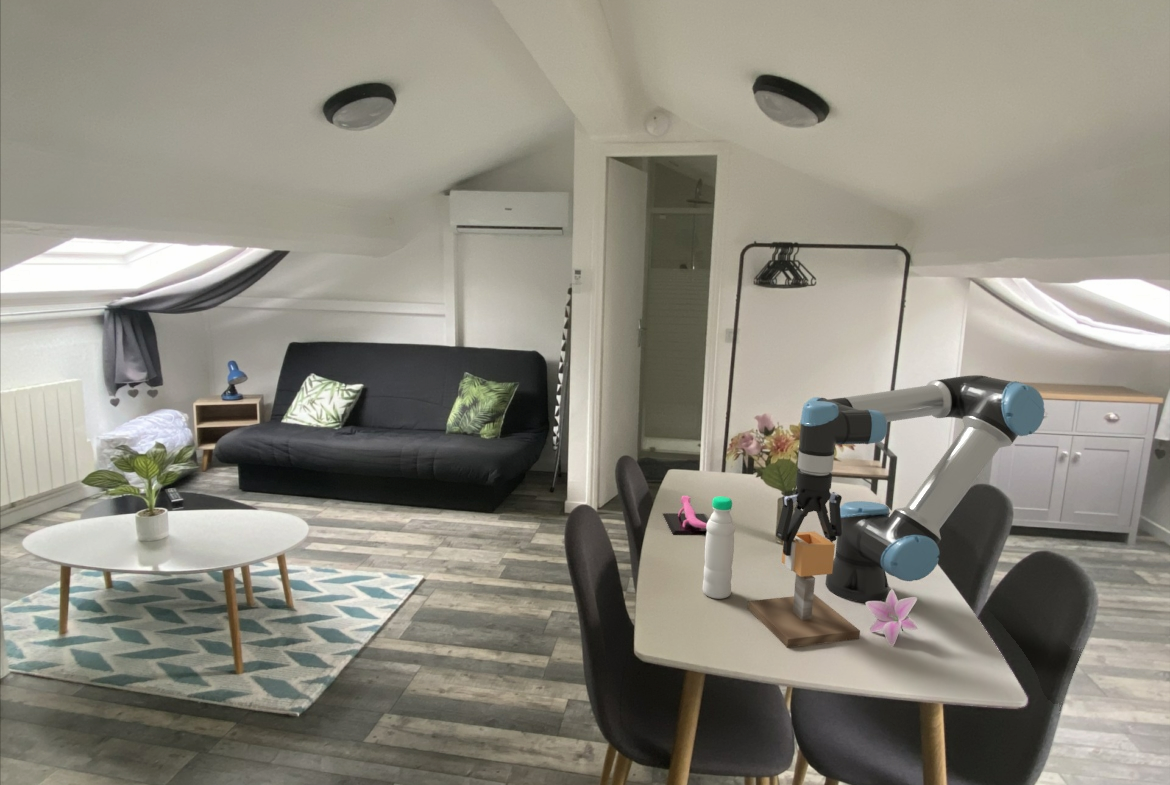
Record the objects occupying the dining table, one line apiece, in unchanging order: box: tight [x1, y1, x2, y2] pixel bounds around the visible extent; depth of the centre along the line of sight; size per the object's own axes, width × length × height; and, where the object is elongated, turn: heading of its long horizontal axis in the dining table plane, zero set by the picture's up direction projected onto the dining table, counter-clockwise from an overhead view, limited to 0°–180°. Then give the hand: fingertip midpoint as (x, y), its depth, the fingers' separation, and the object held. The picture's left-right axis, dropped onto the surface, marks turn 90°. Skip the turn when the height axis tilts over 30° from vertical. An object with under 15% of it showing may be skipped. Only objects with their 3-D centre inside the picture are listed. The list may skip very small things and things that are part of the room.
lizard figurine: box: [662, 495, 710, 536], centre depth 223 cm, size 15×20×7 cm
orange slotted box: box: [781, 530, 836, 577], centre depth 158 cm, size 8×8×7 cm
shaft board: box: [747, 573, 861, 648], centre depth 160 cm, size 18×18×12 cm
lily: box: [865, 588, 918, 647], centre depth 156 cm, size 12×12×10 cm
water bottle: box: [702, 496, 736, 600], centre depth 172 cm, size 7×7×25 cm
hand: (806, 566), depth 158 cm, fingers closed on orange slotted box, 8 cm apart
